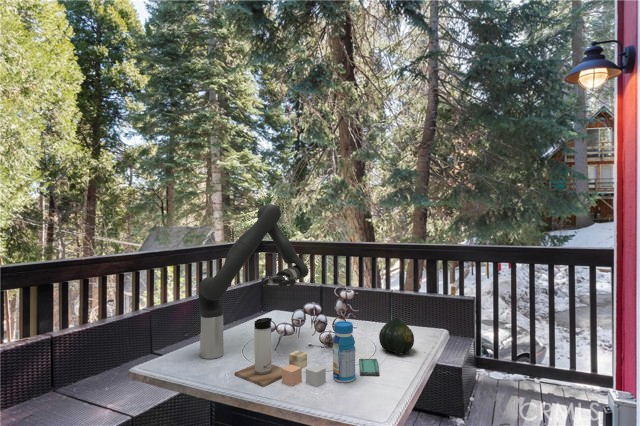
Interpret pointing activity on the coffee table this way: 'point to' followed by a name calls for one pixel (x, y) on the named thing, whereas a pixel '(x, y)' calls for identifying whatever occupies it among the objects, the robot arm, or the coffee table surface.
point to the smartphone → (369, 367)
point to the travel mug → (262, 346)
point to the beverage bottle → (343, 352)
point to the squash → (396, 337)
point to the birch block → (298, 359)
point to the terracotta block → (291, 375)
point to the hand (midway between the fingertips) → (272, 283)
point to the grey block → (315, 375)
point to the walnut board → (260, 379)
